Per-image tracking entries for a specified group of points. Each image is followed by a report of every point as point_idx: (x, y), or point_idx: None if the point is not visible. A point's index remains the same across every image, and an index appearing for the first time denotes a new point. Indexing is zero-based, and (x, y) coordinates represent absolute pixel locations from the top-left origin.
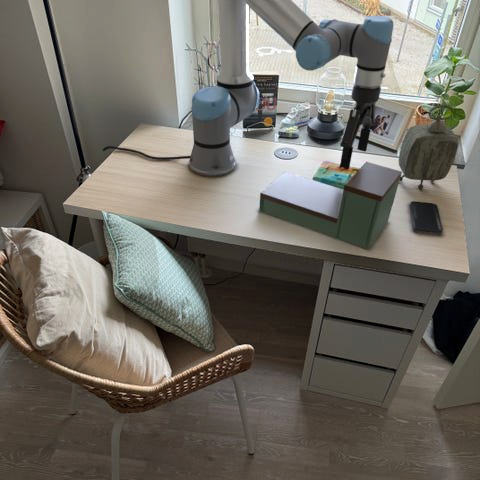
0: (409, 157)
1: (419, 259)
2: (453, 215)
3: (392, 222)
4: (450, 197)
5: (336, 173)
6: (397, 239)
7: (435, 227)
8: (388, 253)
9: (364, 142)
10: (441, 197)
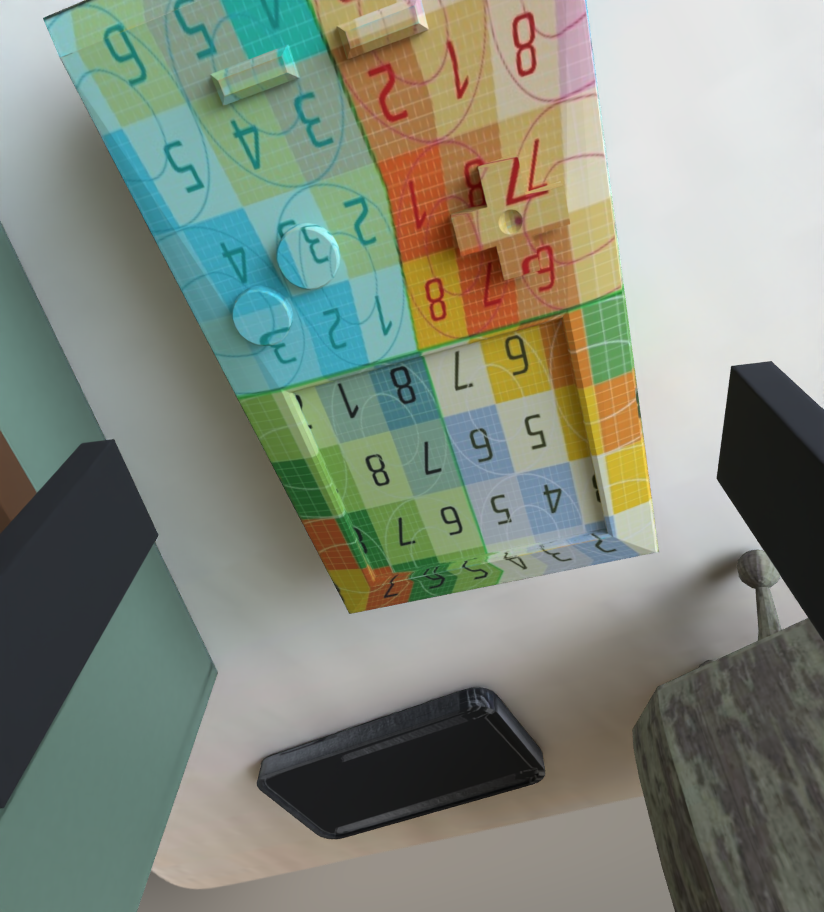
0: (692, 867)
1: None
2: (527, 811)
3: (248, 683)
4: None
5: (301, 249)
6: None
7: (337, 819)
8: None
9: (778, 528)
10: None
